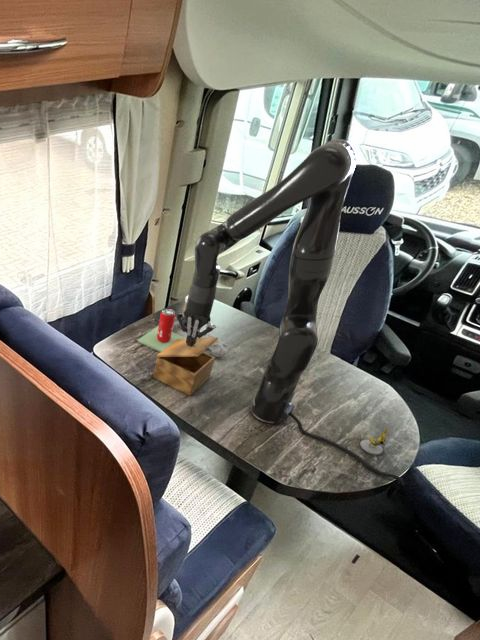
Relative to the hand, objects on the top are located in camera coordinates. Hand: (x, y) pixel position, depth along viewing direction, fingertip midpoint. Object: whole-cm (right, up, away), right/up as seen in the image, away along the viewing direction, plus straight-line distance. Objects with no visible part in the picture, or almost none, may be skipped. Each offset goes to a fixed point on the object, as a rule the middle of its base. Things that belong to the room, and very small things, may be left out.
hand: (190, 345), depth 143 cm
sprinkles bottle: (+8, +10, +35) cm, 37 cm away
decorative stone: (+14, 0, +22) cm, 26 cm away
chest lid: (-1, -1, +1) cm, 2 cm away
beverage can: (-3, +4, +26) cm, 26 cm away
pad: (-3, +4, +26) cm, 27 cm away
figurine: (+48, -31, -16) cm, 59 cm away
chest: (-1, -10, +9) cm, 14 cm away
